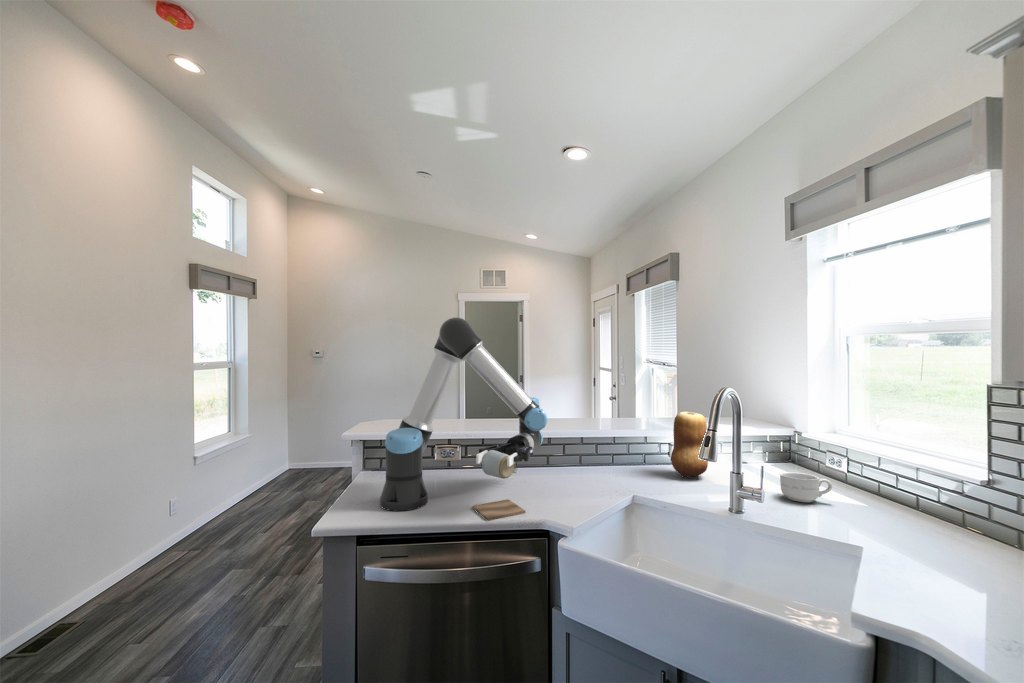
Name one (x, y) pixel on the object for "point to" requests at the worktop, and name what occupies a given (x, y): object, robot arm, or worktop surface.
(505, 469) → the ceramic mug
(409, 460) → the robot arm
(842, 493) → the worktop surface
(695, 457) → the butternut squash
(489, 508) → the walnut trivet
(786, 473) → the teacup
